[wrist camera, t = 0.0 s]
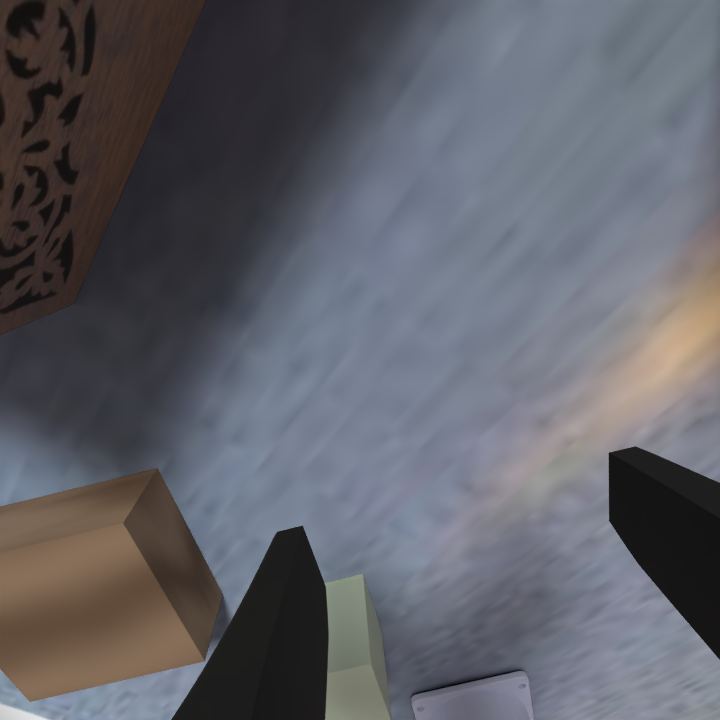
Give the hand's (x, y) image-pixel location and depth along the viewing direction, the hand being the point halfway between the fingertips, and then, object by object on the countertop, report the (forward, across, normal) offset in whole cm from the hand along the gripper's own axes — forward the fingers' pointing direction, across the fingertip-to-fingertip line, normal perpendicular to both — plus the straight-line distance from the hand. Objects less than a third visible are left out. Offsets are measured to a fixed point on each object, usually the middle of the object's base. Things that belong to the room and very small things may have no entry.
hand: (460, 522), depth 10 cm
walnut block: (+10, +17, +7) cm, 21 cm away
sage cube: (+10, +7, +15) cm, 19 cm away
